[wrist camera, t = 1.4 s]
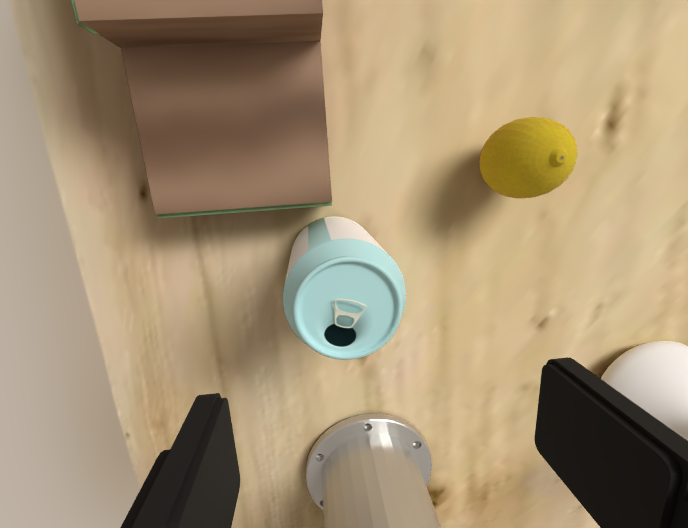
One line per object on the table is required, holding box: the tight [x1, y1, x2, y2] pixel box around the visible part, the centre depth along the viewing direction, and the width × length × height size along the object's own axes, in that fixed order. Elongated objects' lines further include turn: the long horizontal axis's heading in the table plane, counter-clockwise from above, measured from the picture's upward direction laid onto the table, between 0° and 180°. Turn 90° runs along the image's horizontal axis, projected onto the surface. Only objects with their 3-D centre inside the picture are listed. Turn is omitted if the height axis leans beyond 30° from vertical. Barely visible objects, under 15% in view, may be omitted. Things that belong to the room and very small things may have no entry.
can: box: [283, 216, 406, 360], centre depth 24 cm, size 7×7×12 cm
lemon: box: [480, 117, 577, 198], centre depth 25 cm, size 6×6×8 cm
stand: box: [71, 0, 332, 218], centre depth 22 cm, size 20×12×8 cm, turn 4°
